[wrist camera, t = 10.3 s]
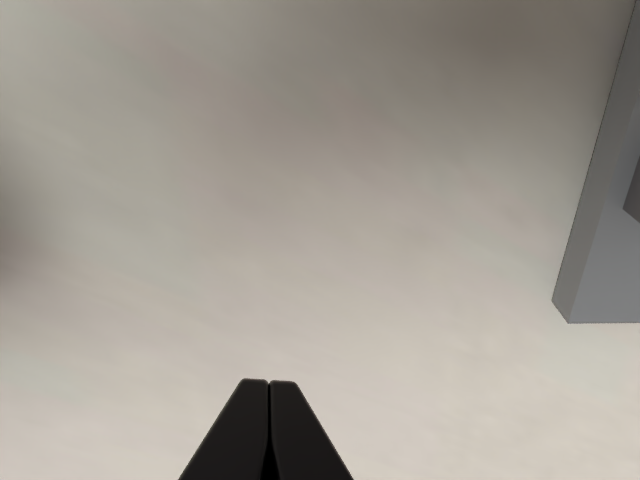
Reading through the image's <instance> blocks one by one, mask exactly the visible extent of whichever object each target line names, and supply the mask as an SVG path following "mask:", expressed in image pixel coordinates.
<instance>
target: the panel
mask: <svg viewBox="0 0 640 480" xmlns="http://www.w3.org/2000/svg"><path fill="white" fill-rule="evenodd" d="M552 302H553V304H554V305H555V307H556V308H557V309H558V311H559V312H560V313H561V315H562V316H563V318H564V319H565V320H566V322H567V323H568V324H571V323H640V0H636V3H635V7H634V10H633V14H632V17H631V21H630V25H629V28H628V32H627V35H626V39H625V42H624V46H623V49H622V53H621V56H620V60H619V64H618V67H617V71H616V74H615V78H614V81H613V85H612V88H611V92H610V95H609V99H608V103H607V106H606V110H605V113H604V117H603V120H602V124H601V127H600V131H599V134H598V138H597V142H596V145H595V149H594V152H593V156H592V159H591V163H590V166H589V170H588V173H587V177H586V181H585V184H584V188H583V191H582V195H581V198H580V202H579V205H578V209H577V212H576V216H575V220H574V223H573V227H572V230H571V234H570V237H569V241H568V244H567V248H566V251H565V255H564V259H563V262H562V266H561V269H560V273H559V276H558V280H557V283H556V287H555V291H554V294H553V298H552Z"/></svg>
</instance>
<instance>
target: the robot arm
mask: <svg viewBox="0 0 640 480" xmlns="http://www.w3.org/2000/svg"><path fill="white" fill-rule="evenodd" d="M178 480H354V479H353V478H352V476H351V474H350V472H349V471H348V469H347V467H346V466H345V464H344V462H343V461H342V459H341V457H340V456H339V454H338V452H337V451H336V449H335V447H334V446H333V444H332V442H331V441H330V439H329V437H328V435H327V434H326V432H325V430H324V429H323V427H322V425H321V424H320V422H319V420H318V419H317V417H316V415H315V414H314V412H313V410H312V409H311V407H310V405H309V404H308V402H307V400H306V398H305V397H304V395H303V393H302V392H301V390H300V388H299V387H298V385H297V384H296V383H295V382H292V381H279V380H272V381H270V383H269V384H268V382H267V381H266V380H264V379H248V378H245V379H242V380H241V381H240V382H239V384H238V386H237V387H236V389H235V390H234V392H233V393H232V395H231V397H230V398H229V400H228V401H227V403H226V405H225V406H224V408H223V409H222V411H221V412H220V414H219V416H218V417H217V419H216V420H215V422H214V424H213V425H212V427H211V428H210V430H209V432H208V433H207V435H206V436H205V438H204V439H203V441H202V443H201V444H200V446H199V447H198V449H197V451H196V452H195V454H194V455H193V457H192V458H191V460H190V462H189V463H188V465H187V466H186V468H185V470H184V471H183V473H182V474H181V476H180V477H179V479H178Z"/></svg>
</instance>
